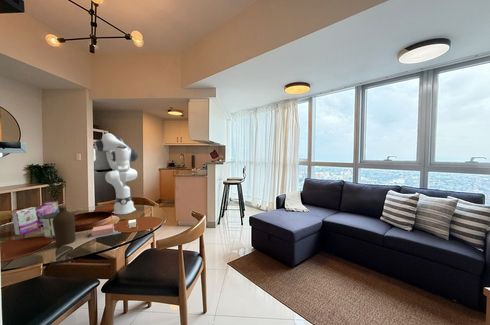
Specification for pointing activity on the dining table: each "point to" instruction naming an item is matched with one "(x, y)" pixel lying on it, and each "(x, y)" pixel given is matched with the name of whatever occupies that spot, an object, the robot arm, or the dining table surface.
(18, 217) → the candy bar box
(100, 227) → the pink block
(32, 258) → the dining table surface
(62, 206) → the olive oil
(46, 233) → the tissue box
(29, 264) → the dining table surface
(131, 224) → the stub
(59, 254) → the dining table surface
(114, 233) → the mat
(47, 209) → the gum box
